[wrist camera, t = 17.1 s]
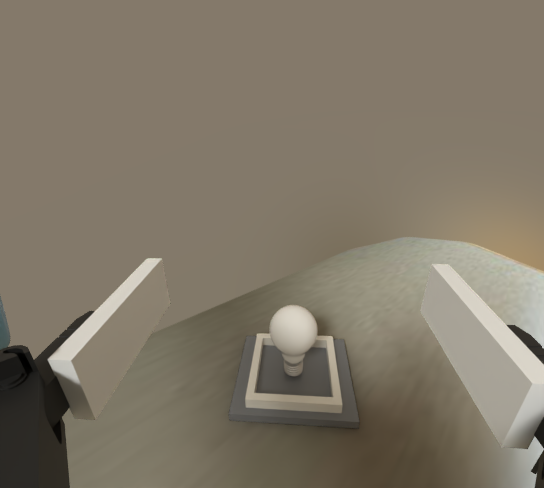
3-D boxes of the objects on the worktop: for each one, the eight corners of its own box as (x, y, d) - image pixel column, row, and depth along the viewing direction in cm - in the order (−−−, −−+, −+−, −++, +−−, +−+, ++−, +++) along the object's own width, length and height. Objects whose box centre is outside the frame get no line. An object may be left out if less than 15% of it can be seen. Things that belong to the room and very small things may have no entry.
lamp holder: (229, 420, 37) (227, 405, 36) (247, 341, 50) (246, 328, 49) (358, 428, 36) (360, 413, 35) (343, 345, 49) (344, 332, 48)
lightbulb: (314, 355, 45) (317, 296, 40) (316, 392, 39) (320, 327, 35) (273, 354, 46) (270, 295, 41) (269, 390, 40) (266, 325, 35)
